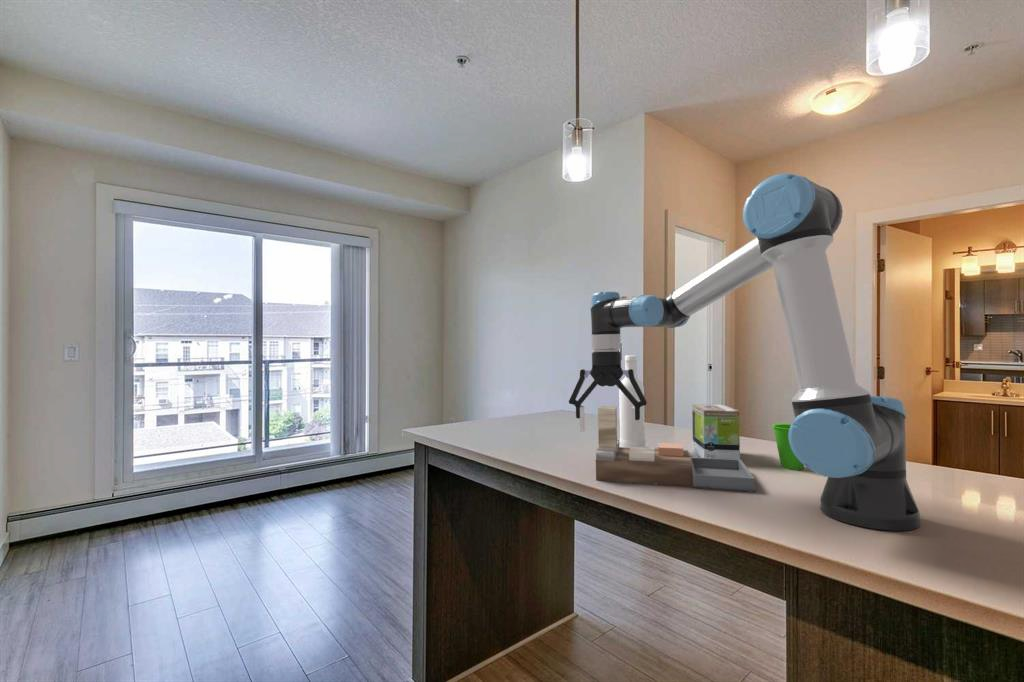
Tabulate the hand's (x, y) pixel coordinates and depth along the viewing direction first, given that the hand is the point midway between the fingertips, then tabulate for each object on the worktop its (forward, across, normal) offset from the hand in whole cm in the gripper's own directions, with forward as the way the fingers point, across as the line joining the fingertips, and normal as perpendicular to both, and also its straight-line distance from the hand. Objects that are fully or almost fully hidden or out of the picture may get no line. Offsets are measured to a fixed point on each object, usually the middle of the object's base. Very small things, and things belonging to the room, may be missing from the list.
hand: (607, 431), depth 124 cm
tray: (+11, -27, 0) cm, 29 cm away
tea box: (+11, -29, -25) cm, 40 cm away
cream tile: (+6, -9, +4) cm, 11 cm away
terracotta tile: (+6, -16, -4) cm, 17 cm away
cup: (+11, -47, -16) cm, 51 cm away
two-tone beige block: (+6, 0, 0) cm, 6 cm away
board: (+11, -9, 0) cm, 14 cm away
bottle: (+11, -5, -30) cm, 32 cm away
